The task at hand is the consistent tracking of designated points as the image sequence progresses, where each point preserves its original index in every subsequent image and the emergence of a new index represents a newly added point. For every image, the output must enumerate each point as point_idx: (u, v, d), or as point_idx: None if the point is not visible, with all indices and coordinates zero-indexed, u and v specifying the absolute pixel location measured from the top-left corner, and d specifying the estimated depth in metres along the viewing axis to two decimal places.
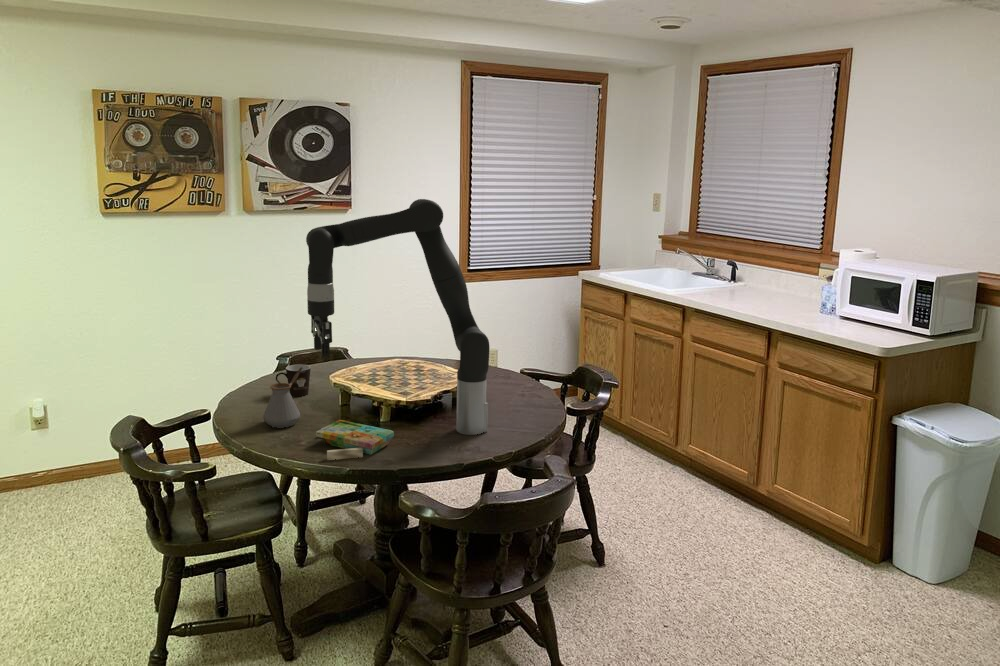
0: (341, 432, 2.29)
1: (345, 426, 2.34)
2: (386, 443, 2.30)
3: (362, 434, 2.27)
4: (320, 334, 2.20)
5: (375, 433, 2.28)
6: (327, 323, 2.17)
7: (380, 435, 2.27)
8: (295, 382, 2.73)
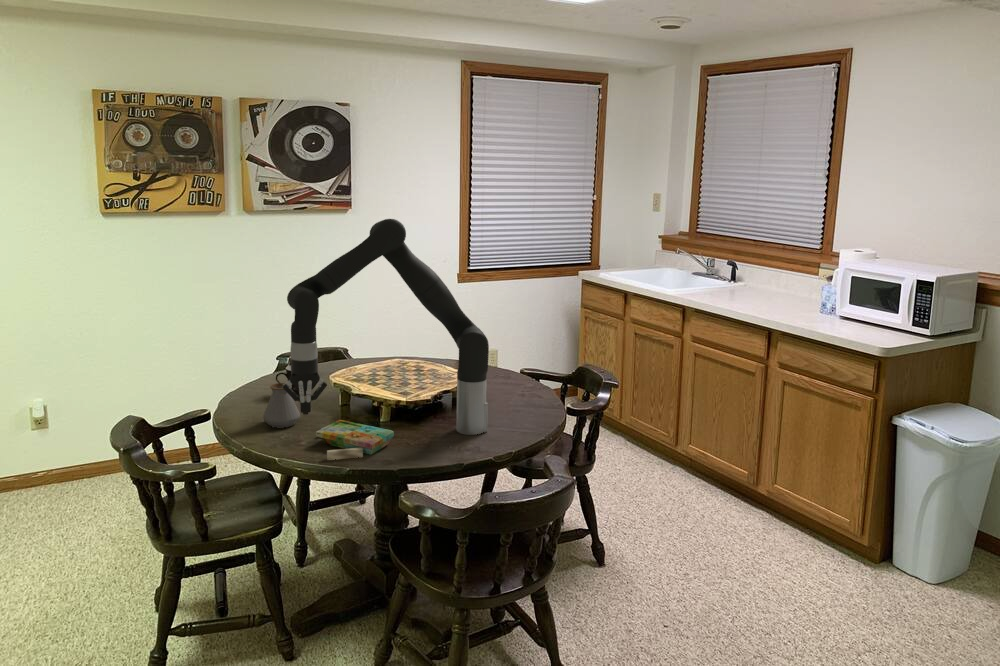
0: (341, 432, 2.29)
1: (345, 426, 2.34)
2: (386, 443, 2.30)
3: (362, 434, 2.27)
4: None
5: (375, 433, 2.28)
6: None
7: (380, 435, 2.27)
8: None
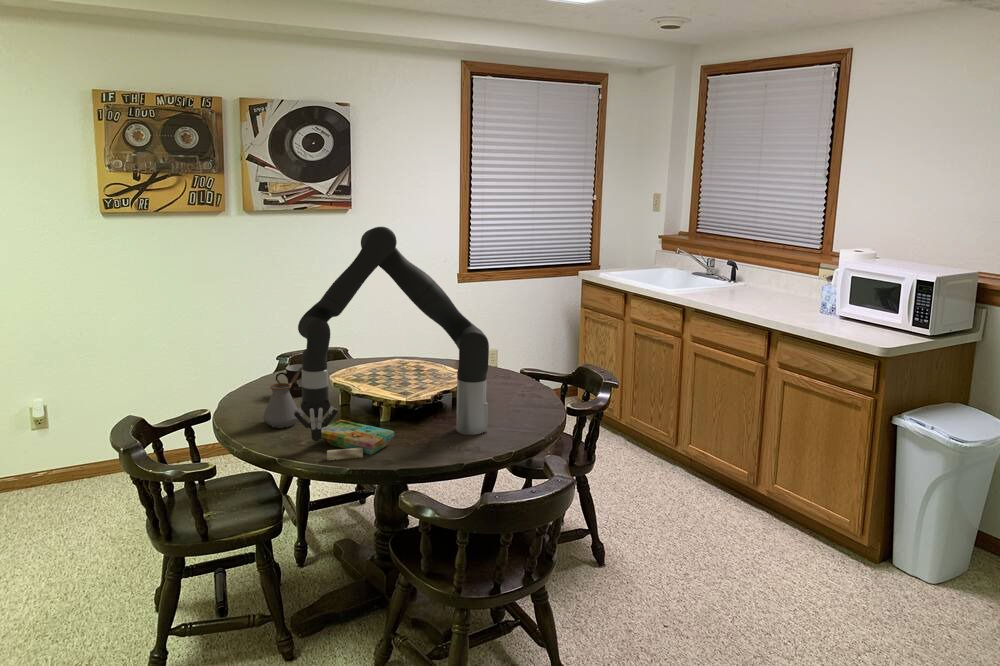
0: (341, 432, 2.29)
1: (346, 426, 2.34)
2: (386, 443, 2.30)
3: (362, 434, 2.27)
4: (321, 420, 2.25)
5: (375, 433, 2.28)
6: (336, 410, 2.27)
7: (380, 435, 2.27)
8: (295, 382, 2.73)
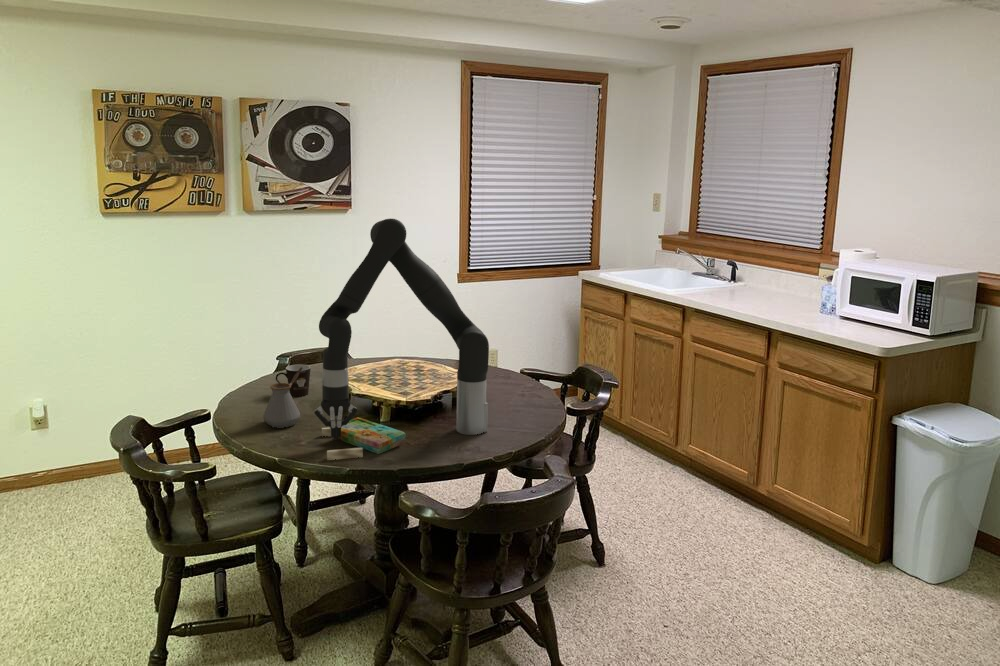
0: (354, 429, 2.31)
1: (361, 424, 2.36)
2: (396, 444, 2.30)
3: (373, 433, 2.28)
4: (341, 419, 2.27)
5: (386, 433, 2.29)
6: (356, 409, 2.29)
7: (390, 435, 2.28)
8: (295, 382, 2.73)
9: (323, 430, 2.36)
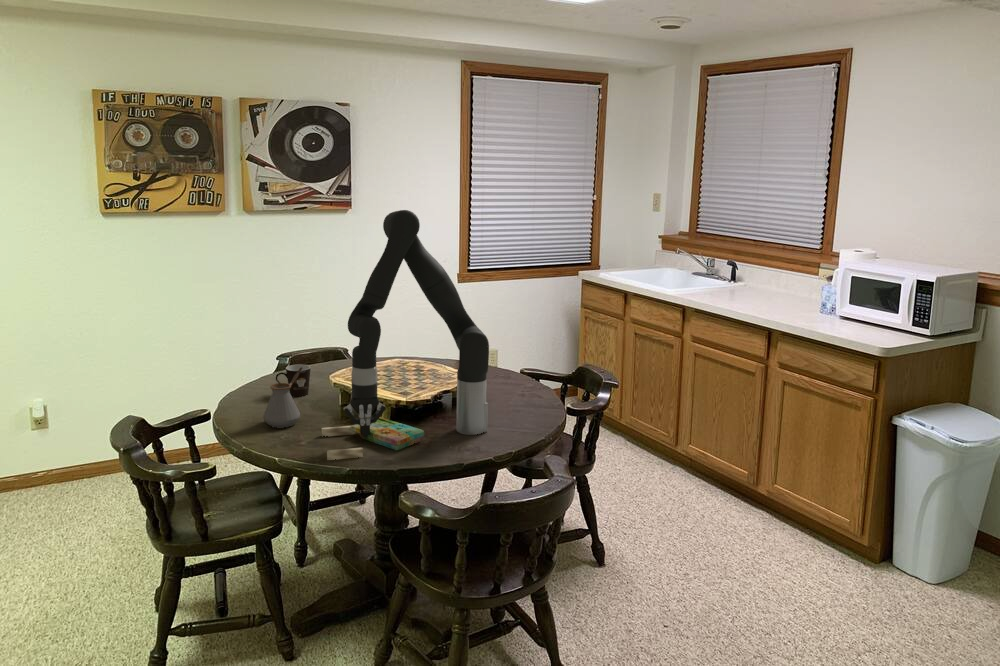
0: (374, 428, 2.36)
1: (381, 423, 2.40)
2: (415, 442, 2.33)
3: (392, 431, 2.32)
4: (370, 417, 2.29)
5: (405, 431, 2.33)
6: None
7: (408, 433, 2.31)
8: (295, 382, 2.73)
9: (323, 430, 2.36)
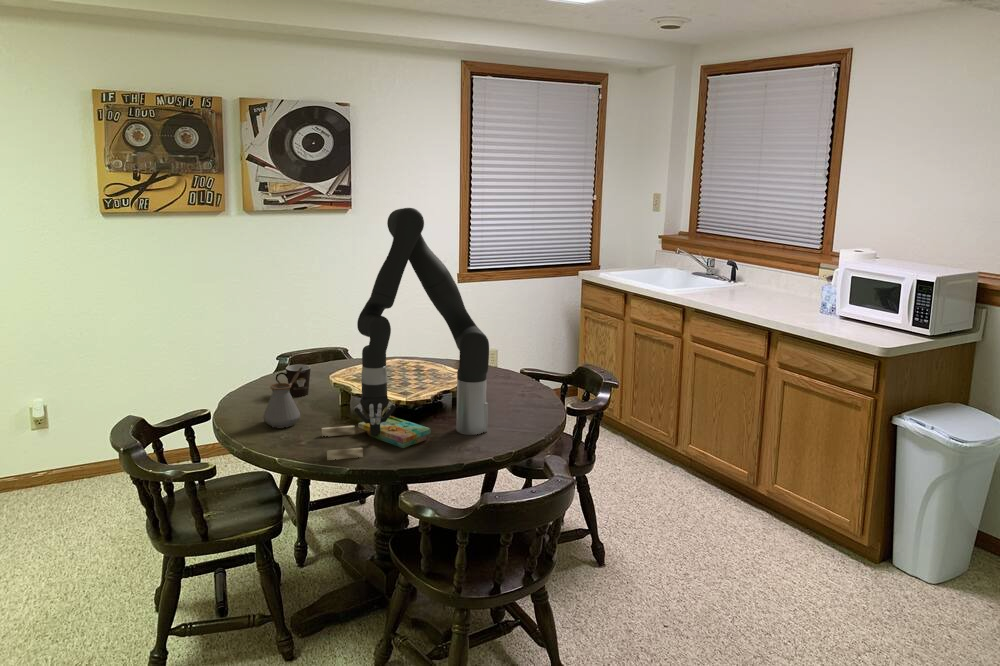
0: (381, 425, 2.38)
1: (388, 420, 2.42)
2: (422, 439, 2.35)
3: (398, 428, 2.34)
4: (380, 416, 2.30)
5: (411, 429, 2.34)
6: None
7: (415, 431, 2.33)
8: (295, 382, 2.73)
9: (323, 430, 2.36)
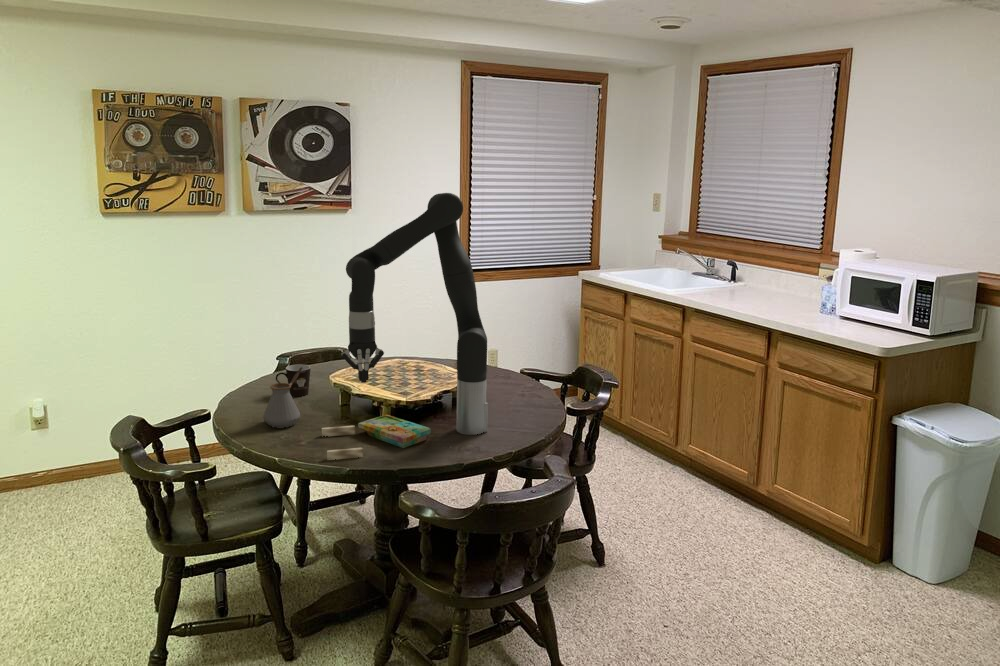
0: (381, 425, 2.38)
1: (388, 420, 2.42)
2: (422, 439, 2.35)
3: (398, 428, 2.34)
4: None
5: (411, 429, 2.35)
6: None
7: (415, 431, 2.33)
8: (295, 382, 2.73)
9: (323, 430, 2.36)
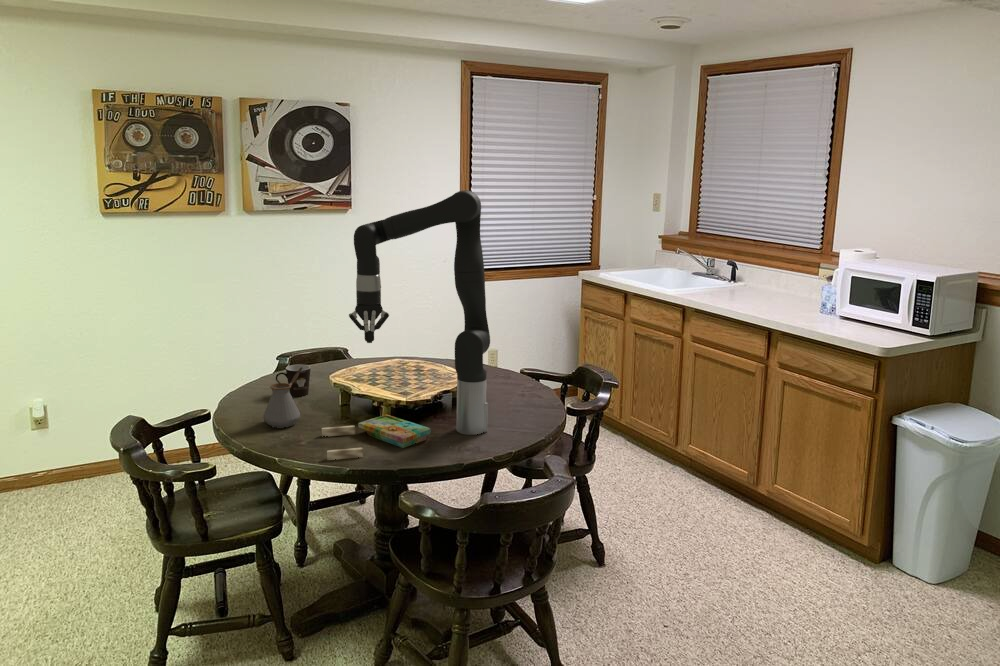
0: (381, 425, 2.38)
1: (388, 420, 2.42)
2: (422, 439, 2.35)
3: (398, 428, 2.34)
4: (374, 323, 2.42)
5: (411, 429, 2.35)
6: None
7: (415, 431, 2.33)
8: (295, 382, 2.73)
9: (323, 430, 2.36)
